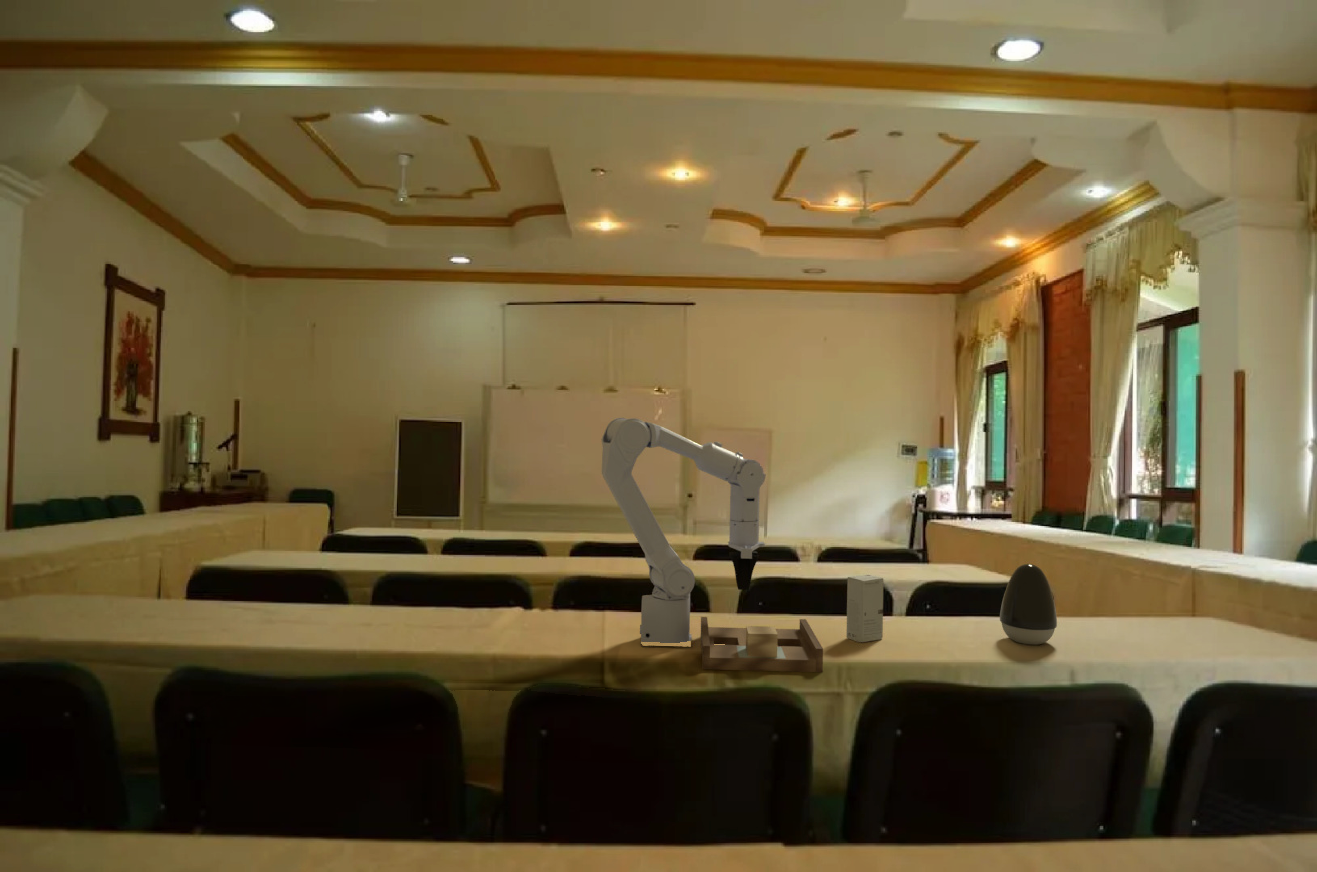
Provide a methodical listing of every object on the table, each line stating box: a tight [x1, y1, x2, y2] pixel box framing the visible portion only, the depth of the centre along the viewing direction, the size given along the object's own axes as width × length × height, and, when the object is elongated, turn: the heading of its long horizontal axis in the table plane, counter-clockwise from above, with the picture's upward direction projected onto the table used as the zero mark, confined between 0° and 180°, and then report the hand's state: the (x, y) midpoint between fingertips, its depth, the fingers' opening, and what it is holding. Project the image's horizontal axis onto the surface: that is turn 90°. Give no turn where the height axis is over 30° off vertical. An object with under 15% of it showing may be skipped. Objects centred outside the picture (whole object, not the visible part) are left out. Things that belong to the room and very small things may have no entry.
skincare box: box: [846, 574, 884, 643], centre depth 160 cm, size 6×4×12 cm
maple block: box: [745, 625, 778, 657], centre depth 142 cm, size 5×5×4 cm
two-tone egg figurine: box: [999, 563, 1058, 646], centre depth 160 cm, size 10×10×15 cm
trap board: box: [700, 616, 824, 673], centre depth 149 cm, size 20×20×4 cm
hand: (743, 589), depth 159 cm, fingers closed
